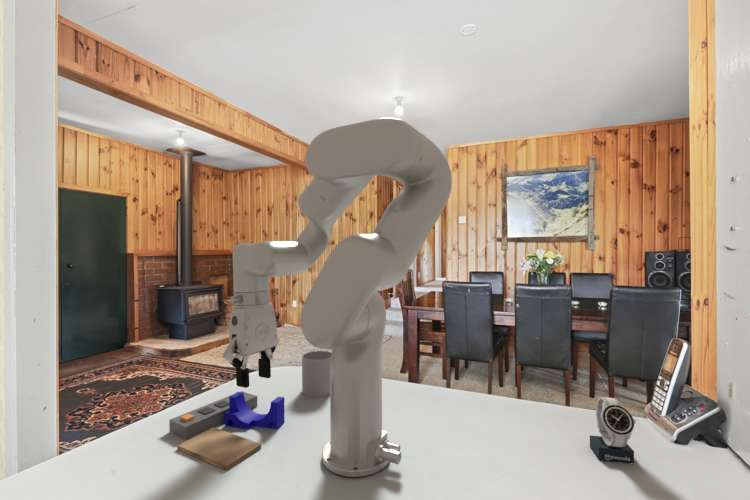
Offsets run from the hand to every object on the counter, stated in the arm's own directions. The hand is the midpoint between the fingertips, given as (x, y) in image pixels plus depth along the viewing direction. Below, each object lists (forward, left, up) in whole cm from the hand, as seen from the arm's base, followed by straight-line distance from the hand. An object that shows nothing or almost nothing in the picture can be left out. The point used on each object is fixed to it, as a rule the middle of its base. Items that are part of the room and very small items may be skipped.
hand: (254, 380), depth 79 cm
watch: (-68, -21, -10) cm, 72 cm away
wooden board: (-1, +10, -10) cm, 14 cm away
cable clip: (0, 0, -10) cm, 10 cm away
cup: (-1, -21, -10) cm, 23 cm away
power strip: (+10, +2, -10) cm, 14 cm away
